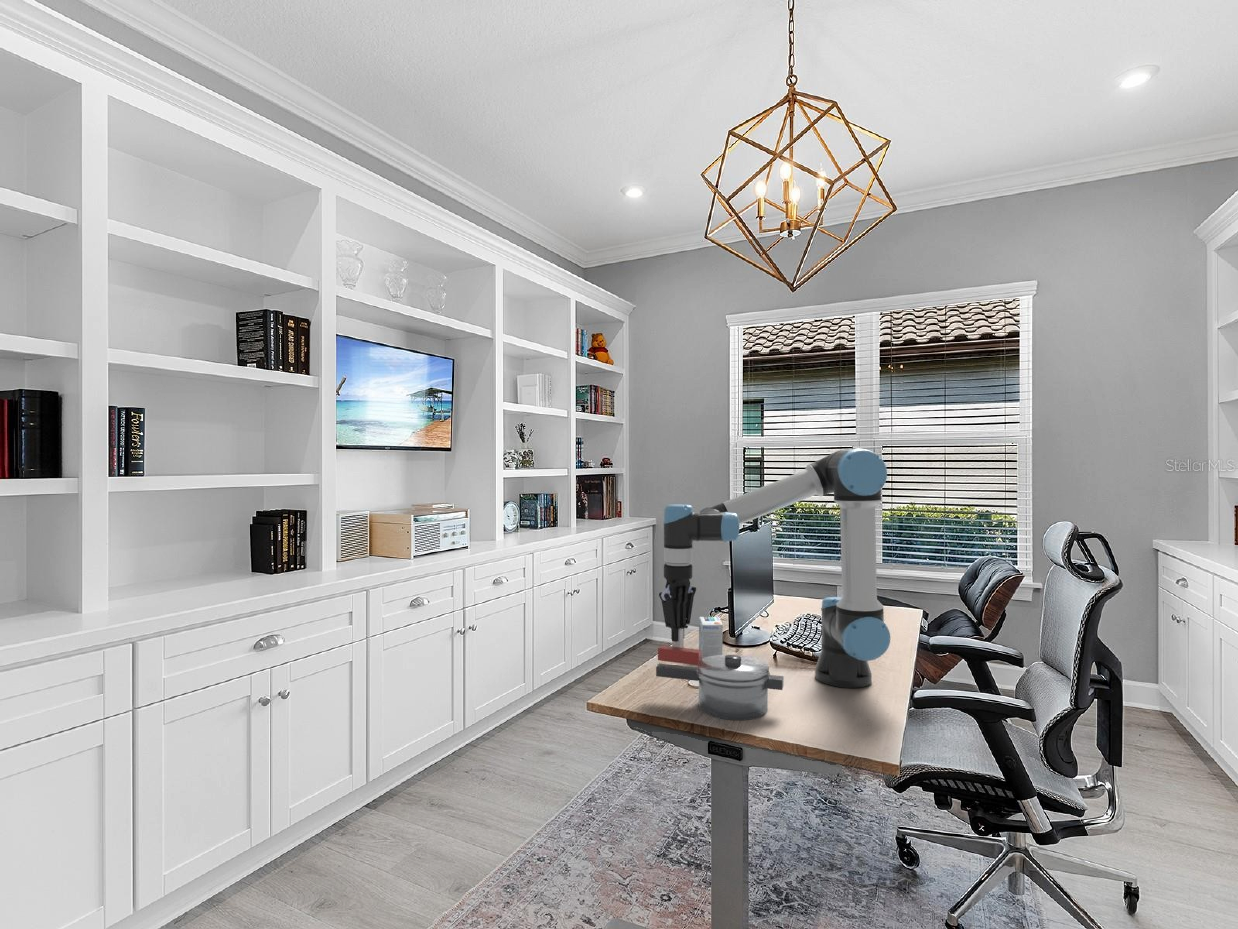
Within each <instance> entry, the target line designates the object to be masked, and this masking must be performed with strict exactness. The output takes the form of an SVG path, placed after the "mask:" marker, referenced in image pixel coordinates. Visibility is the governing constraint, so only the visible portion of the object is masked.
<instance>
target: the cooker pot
mask: <svg viewBox="0 0 1238 929" xmlns="http://www.w3.org/2000/svg"><path fill="white" fill-rule="evenodd" d="M655 677H658V678H669V679H679V680H685V681H686V680H687V681H697V682H698V708H699V709H700V711H702V712H703V713H705V715H709V716H710V717H714V718H717V719H723V720H729V721H747V720H748V721H749V720H754V719H758V718H760V717H763V716H765V715H766V714H767V712H768V708H769V705H768V703H769V702H768V698H769V697H768V692H769V690H779V691H783V689H784V681H785V680H784V677H785V676H783V675H774V674H771V672H770V671H769V674H768V675H767V676H766V677H764V678H762V679H759V680H754V681H745V682H734V681H723V680H718V679H713V678H710V677H707V676H705V675H703V674H701V673H700V672H699V671H698V666H697V667H696V666H690V665H689V666H687V665H679V664H677V665H676V664H670V663H669V664H668V663H658V664H657V665H656V666H655Z"/></svg>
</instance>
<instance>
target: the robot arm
mask: <svg viewBox="0 0 1238 929" xmlns="http://www.w3.org/2000/svg"><path fill="white" fill-rule="evenodd" d="M887 479H888V469H887V466H886V463H885V462H884V460H883V458H882V457H880V455H878V454H877V453H876V452H874V451H872V450H870V449H865V448H849V449H847V448H846V449H840V450H837V451H834V452H832V453H830V454H828V455H827V456H825V457H824V456H823V457H822V458H821V459H819V460H816V461H814V462H811V463H809V464H807V465H806V467H805V468H804V470H801V471H799V472H797V473H794V474H791V475H789V476H787V477H784V478H781V479H779V480H776V481H774V482H772V483H769V484H766V485H764V486H761V487H759V488H755V489H753V490H751V491H748V492H746V493H744V494H742V495H738V496H736V497H733V498H731V499H728V500H726V501H724V502H721V503H718V504H716V505H713V506H707V507H705V508H702V509H701V510H700V511H699V512H697V511H694V508H693V505H690V504H683V503H682V504H681V503H678V504H677V503H675V504H674V503H673V504H667V505H666V506H665V507H664V509H663V510H664V511H663V512H664V514H663V562H664V564H663V577H664V579H665V580H666V583H665V589H664V591H663V592H659V594H658V597H659V599H660V601H661V605H662V612H663V617H664V624H665V627H666V628H670V629H671V631H670V632H671V634H670V636H671V638H670V639H671V641H672V642H671V644H672V645H671V646H672V647H680V648H685V647H684V646H685V645H684V644H685V643H684V642H685V640H684V639H685V629H688V628H689V625H690V623H691V617H692V613H693V612H692V611H693V606H694V605H693V604H694V597H695V594H696V592H697V587H695V586H693V585H691V579H692V578H693V565H692V563H693V560H694V557H693V549H694V548H693V542H701V541H702V542H703V541H704V542H724V543H725V542H733V541H734V542H735V541H737V540H738V539H739V535H740V525H742V524H745V523H749V522H751V521H753V520H755V519H757V518H760V517H763V516H765V515H767V514H768V515H769V514H771V513H773V512H776V511H778V510H781V509H783V508H786V507H788V506H791V505H794V504H796V503H799V502H801V501H804V500H807V499H808V498H811V497H813V496H814V497H815V496H817V497H823V496H827V495H828V494H833V501H834V503H835V504H836V505H837V506H839V509H840V511H839V512H840V514H839V516H840V557H841V558H840V559H841V560H840V561H841V562H840V563H841V596H831V597H825V598H823V599H822V602H821V608H820V611H821V650H820V654H819V657H818V659H817V662H816V665H815V669H814V677H815V679H816V680H817V681H819V682H821V683H823V684H825V685H829V686H833V687H836V688H837V687H838V688H846V689H847V688H849V689H850V688H852V689H853V688H854V689H855V688H856V689H857V688H864V687H868V686H870V685H871V684H872V680H873V679H872V671H871V668H870V665H869V661H874V660H876V659H878V658H881V657H882V656H883V655H884V654H886V652H887V650H888V649H889V646H890V644H891V632H890V630H889V627H888V625H887V624H886V623H885V619H884V618H885V615H884V613H885V612H884V605H883V604H882V603H881V602H880V601H879V600H878V590H877V589H878V586H877V585H878V584H877V583H878V582H877V544H876V543H877V540H876V539H877V538H876V532H877V531H876V507H877V506H878V504H880V502H882V488H883V487H885V484H886V481H887Z"/></svg>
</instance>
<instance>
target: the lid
mask: <svg viewBox="0 0 1238 929" xmlns="http://www.w3.org/2000/svg"><path fill="white" fill-rule="evenodd" d="M657 661H662V662H669V663H677V664H684V665H689V666H691V665H692V666H697V667H698V671H699V672H700V673H701V674H703V675H705V676H707V677H710V678H713V679H718V680H723V681H734V682H745V681H754V680H759V679H762V678H764V677H766V676H767V675H768V674H769V672H770V666H769V664H768V663H766V661H763V660H761V659H758V658H755V657H751V656H747V655H746V656H745V655H739V654H722V655H715V656H709V657H705V658H703V659H702V650H699V649H696V648H687V647H684V648H680V647H672V645H671V646H670V645H660V646H659V647H658V648H657Z"/></svg>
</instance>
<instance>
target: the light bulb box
mask: <svg viewBox="0 0 1238 929" xmlns="http://www.w3.org/2000/svg"><path fill="white" fill-rule="evenodd" d="M698 621H699V622H698V650H702V659H703V658H705V657H709V656H715V655H723V632H724V630H723V629H724V626H723V623H722V620H721V618H720V617H719V616H699V618H698Z"/></svg>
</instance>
